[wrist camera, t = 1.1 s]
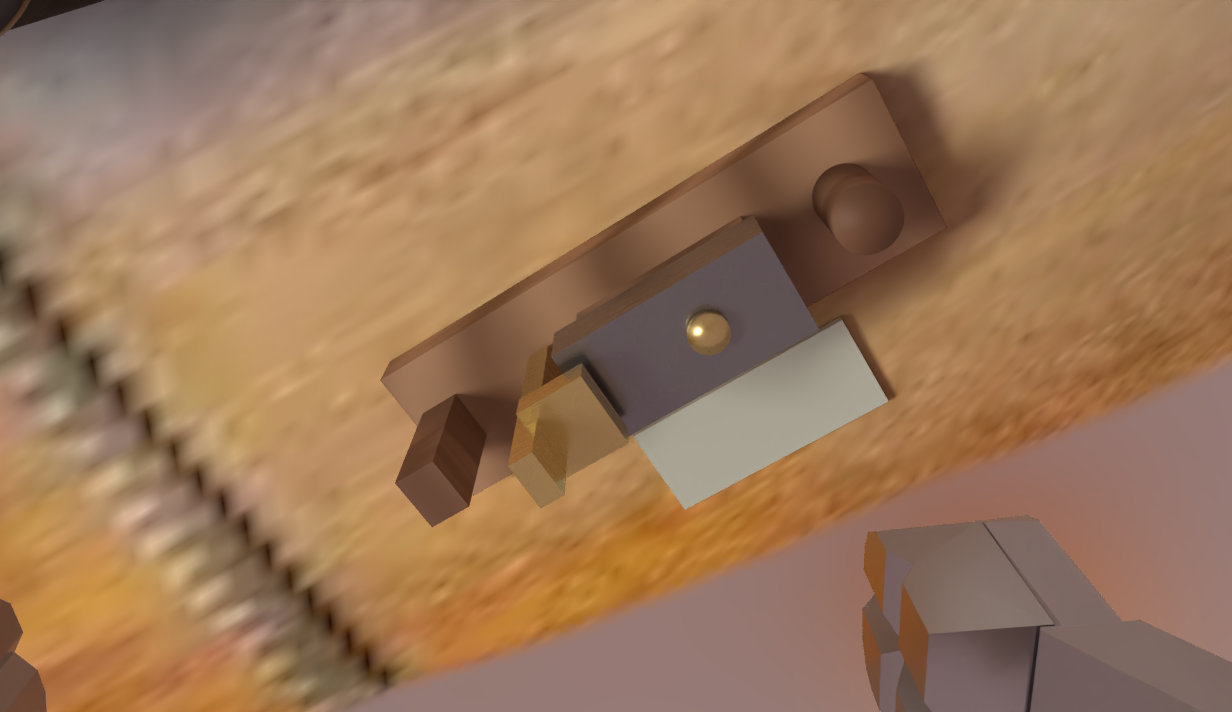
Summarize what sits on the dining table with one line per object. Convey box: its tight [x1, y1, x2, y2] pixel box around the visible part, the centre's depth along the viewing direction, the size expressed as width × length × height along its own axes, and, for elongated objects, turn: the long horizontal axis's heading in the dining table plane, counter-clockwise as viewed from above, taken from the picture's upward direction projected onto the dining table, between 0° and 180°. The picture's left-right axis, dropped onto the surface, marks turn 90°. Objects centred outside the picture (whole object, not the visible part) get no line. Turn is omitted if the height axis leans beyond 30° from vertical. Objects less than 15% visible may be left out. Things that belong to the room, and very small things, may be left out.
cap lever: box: [508, 346, 628, 508], centre depth 37 cm, size 3×3×9 cm
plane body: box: [380, 73, 947, 527], centre depth 38 cm, size 24×7×8 cm, turn 122°
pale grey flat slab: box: [633, 317, 888, 509], centre depth 44 cm, size 11×5×1 cm, turn 122°
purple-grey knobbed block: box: [551, 215, 820, 436], centre depth 36 cm, size 9×4×3 cm, turn 122°
